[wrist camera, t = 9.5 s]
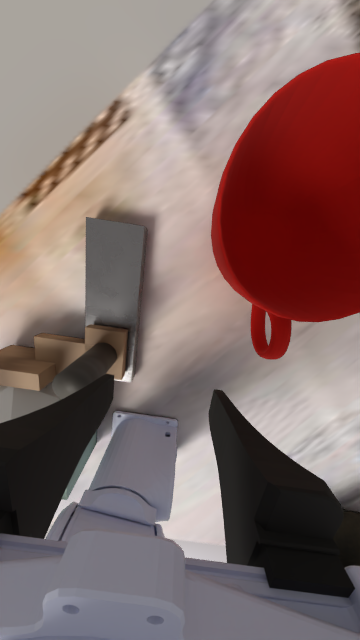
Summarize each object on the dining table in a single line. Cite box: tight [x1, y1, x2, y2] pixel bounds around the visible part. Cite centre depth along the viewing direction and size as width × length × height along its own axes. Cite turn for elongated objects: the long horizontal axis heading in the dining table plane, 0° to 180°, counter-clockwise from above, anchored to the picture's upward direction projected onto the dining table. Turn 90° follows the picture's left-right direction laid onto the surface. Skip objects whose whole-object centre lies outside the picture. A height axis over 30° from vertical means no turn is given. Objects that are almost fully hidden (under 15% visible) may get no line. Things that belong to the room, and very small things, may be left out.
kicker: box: [0, 324, 128, 400], centre depth 18 cm, size 16×7×9 cm, turn 82°
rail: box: [85, 217, 147, 382], centre depth 21 cm, size 6×18×2 cm, turn 172°
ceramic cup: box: [211, 53, 360, 359], centre depth 15 cm, size 13×17×10 cm
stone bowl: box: [333, 511, 360, 568], centre depth 28 cm, size 25×25×9 cm
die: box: [0, 382, 60, 423], centre depth 21 cm, size 8×9×10 cm
